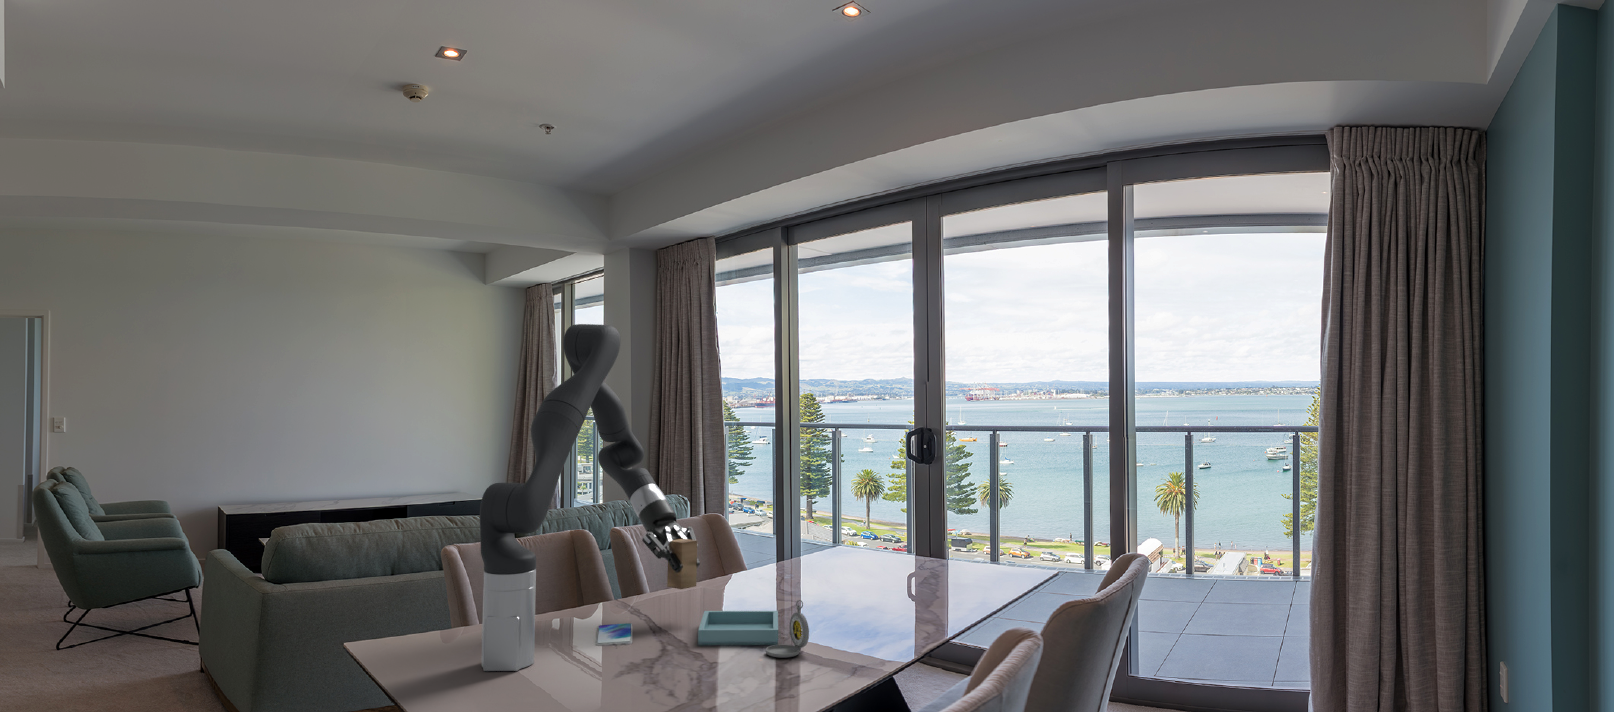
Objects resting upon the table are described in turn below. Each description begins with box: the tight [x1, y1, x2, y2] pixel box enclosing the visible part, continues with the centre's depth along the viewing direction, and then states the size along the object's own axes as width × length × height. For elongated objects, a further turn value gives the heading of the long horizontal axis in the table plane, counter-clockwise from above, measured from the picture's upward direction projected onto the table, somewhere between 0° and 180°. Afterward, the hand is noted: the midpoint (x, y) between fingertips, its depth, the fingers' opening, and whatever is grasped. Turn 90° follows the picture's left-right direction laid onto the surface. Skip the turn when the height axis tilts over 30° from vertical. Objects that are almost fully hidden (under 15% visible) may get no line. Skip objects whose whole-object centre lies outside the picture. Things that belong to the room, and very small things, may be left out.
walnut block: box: [666, 539, 698, 590], centre depth 194 cm, size 4×4×10 cm
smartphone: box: [595, 622, 633, 647], centre depth 183 cm, size 7×1×15 cm
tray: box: [697, 610, 779, 646], centre depth 184 cm, size 16×16×3 cm
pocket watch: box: [765, 599, 810, 659], centre depth 170 cm, size 8×8×10 cm
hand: (688, 568), depth 192 cm, fingers closed on walnut block, 4 cm apart
